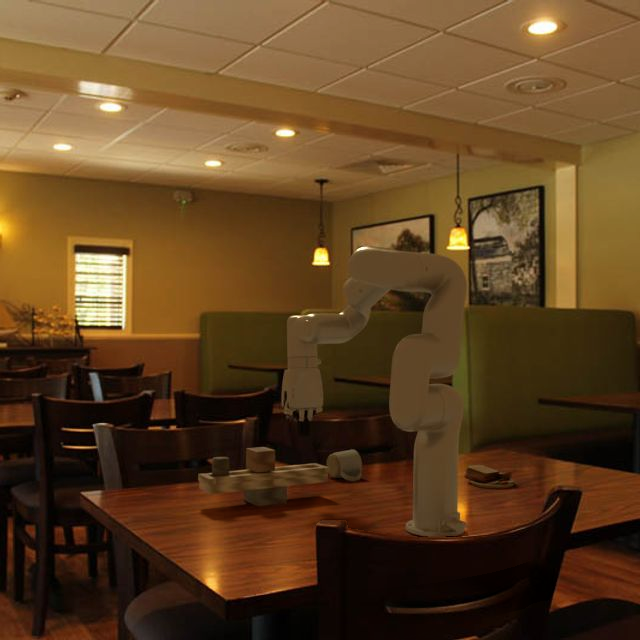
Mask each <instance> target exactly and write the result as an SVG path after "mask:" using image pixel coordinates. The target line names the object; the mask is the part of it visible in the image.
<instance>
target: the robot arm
mask: <svg viewBox="0 0 640 640" xmlns="http://www.w3.org/2000/svg"><path fill="white" fill-rule="evenodd" d="M347 269H348V270H347V271H348V274H349V276H350V278H348V279H347V280H346V281H345V282H344V283H343V287H342V293H343V296H344V299H345V300H346V302H347V303H348V304H349V305H347V307H346V308H345V309H343V310H342V311H341V312H340V313H310V314H305V315H302V314H300V315H291V316H289V317H288V318H287V321H286V337H287V338H286V339H287V341H286V342H287V344H286V345H287V348H286V349H287V369H284V372H283V378H282V385H281V407H282V408H283V413H284V415H289V416H292V417H293V419H294V420H295V421H296V433H297V436H298V437H299V438H308V437H310V433H311V421H313V417H315V415H316V414H319V413H321V412H323V405H324V388H323V380H322V375H321V371H320V369H319V368H318V366H319V365H321V364H322V359H321V358H319V357H318V345H324V344H328V345H329V344H330V345H332V344H343V343H346V342H349V341H350V340H351V339H353V338H354V337H355V336H357V334H359V333H360V332H361V331H362V330H363V329H364V328H365V327H366V325H367V324H368V322H369V319H370V316H371V311H372V308H373V306H374V305H376V304H377V303H378V302H379V301H380V300H381V299H382V298H383V297H384V296H385V295H386V294H388V292H390V291H399V292H411V293H412V292H413V293H429V294H430V295H431V296H430V297H429V300H428V301H427V303H426V304H425V307H424V310H423V316H422V325H421V326H422V327H421V333H414V334H409V335H406V336H404V337H403V338H401V340H400V341H398V343H397V345H396V346H395V349H394V350H393V351H394V352H393V354H392V360H391V371H390V372H391V373H390V387H389V405H388V406H389V407H388V409H389V414H390V418H391V419H392V422H393V424H394V425H395V426H396V428H397V429H400V430H401V431H403V432H404V431H405V432H411V433H412V432H417V434H416V437H415V440H414V447H413V474H412V475H413V477H412V478H413V481H412V484H413V486H412V488H413V489H412V492H413V493H412V519H410V520H409V521H407V522H406V523H405V530H406V531H407V532H408V533H411V534H412V535H417V536H421V537H426V536H427V538H447V537H446V536H454V537H458V536H461V535H463V534H464V533H465V528H466V527H467V526H468V524H467V522H466V521H464V520H461V512H460V511H458V504H459V503H458V502H459V501H458V498H459V497H458V495H459V441H460V432H461V426H462V420H463V416H464V402H463V399H462V396H461V394H460V393H459V392H458V391H457V389H456V388H454V387H453V386H451V385H449V384H444V383H430V379H431V380H432V379H441V378H442V379H444V378H447V377H451V376H453V375H454V374H455V373H456V372H457V371H458V369H459V367H460V361H461V354H462V353H461V352H462V340H463V339H462V338H463V323H464V320H463V319H464V311H465V305H466V299H467V291H468V285H467V278H466V275H465V273H464V271H463V268H461V266H460V264H458V263H457V262H456V261H455V260H454V259H451V258H450V257H449V256H445V255H441V254H438V253H427V252H415V251H403V250H397V249H395V248H389V247H385V246H384V247H382V246H371V245H365V246H362V247H359V248H357V249H356V250H355V251H354V252H353V253H352V254H351V256H350V257H349V260H348V264H347Z"/></svg>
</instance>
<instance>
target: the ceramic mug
mask: <svg viewBox="0 0 640 640" xmlns="http://www.w3.org/2000/svg"><path fill="white" fill-rule="evenodd" d="M326 467H329V474H328V475H329V476H330V477H331V478H333V479H344V480H345V481H348V482H358V481H360V480H361V479H362V470H363V469H362V467H363V462H362V458H361V455H360V453H359V452H358V451H357V450H355V449H349V450H343V451H337V452H333V453H331V454H329V456H328V457H327V458H326ZM355 476H356V477H355ZM357 480H358V481H357Z"/></svg>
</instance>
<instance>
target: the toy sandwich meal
mask: <svg viewBox="0 0 640 640" xmlns="http://www.w3.org/2000/svg"><path fill="white" fill-rule="evenodd" d="M513 475H514V471H513V470H510V471H508V472H501V471H499V470H497V469H494V468H492V467H488V466H485V465H483V464H472V465H468V466H467V467H466V469H465V474H464V477H463V478H464V479H467V480H468V482H470V484H471V485H473V486H475V487H480V488H486V489H508V488H512V487H513V486H514V485H515V483H516V481H515V480H514V479H512V477H513Z"/></svg>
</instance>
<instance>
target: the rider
mask: <svg viewBox="0 0 640 640" xmlns="http://www.w3.org/2000/svg"><path fill="white" fill-rule="evenodd" d="M275 467H276V449H272V448H269V447H265V446H260V447H259V446H258V447H247V448H245V470H248V469H249V470H251V473H262V472H267V471H275Z"/></svg>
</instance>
